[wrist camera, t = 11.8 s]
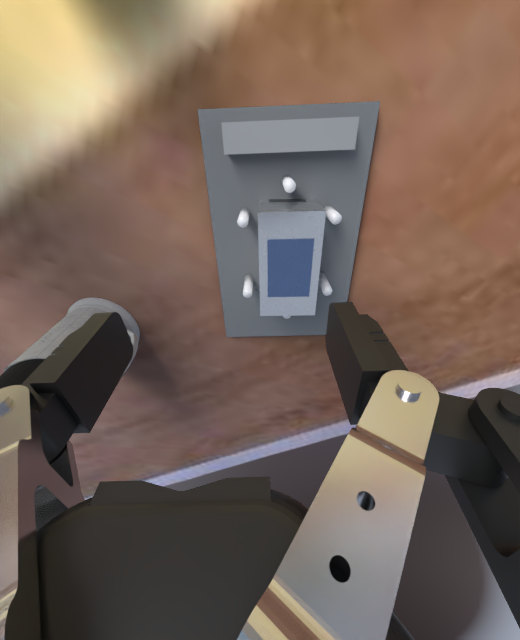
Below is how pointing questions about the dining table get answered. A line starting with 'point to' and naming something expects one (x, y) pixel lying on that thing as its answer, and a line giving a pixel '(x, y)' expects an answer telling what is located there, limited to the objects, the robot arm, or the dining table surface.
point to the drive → (289, 255)
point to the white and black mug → (52, 339)
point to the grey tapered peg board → (285, 197)
